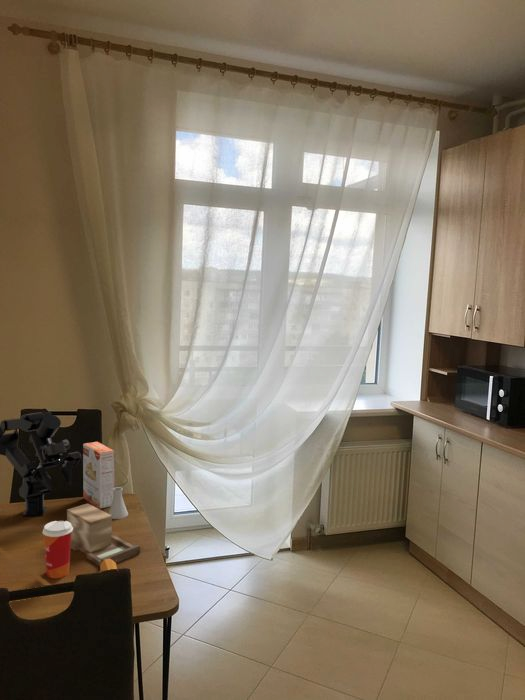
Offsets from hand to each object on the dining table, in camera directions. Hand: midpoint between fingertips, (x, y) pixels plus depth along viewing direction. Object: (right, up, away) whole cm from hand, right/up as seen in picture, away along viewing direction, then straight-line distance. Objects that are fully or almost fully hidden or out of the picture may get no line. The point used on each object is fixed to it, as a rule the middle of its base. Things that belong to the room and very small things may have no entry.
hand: (61, 487), depth 178 cm
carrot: (+25, -19, -33) cm, 46 cm away
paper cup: (+9, -17, -28) cm, 34 cm away
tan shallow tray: (+14, -15, -11) cm, 24 cm away
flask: (+15, -13, +11) cm, 23 cm away
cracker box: (+5, -12, +23) cm, 26 cm away
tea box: (+12, -14, -9) cm, 20 cm away
